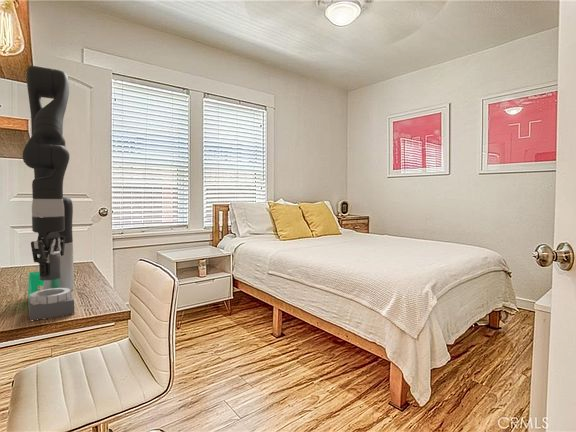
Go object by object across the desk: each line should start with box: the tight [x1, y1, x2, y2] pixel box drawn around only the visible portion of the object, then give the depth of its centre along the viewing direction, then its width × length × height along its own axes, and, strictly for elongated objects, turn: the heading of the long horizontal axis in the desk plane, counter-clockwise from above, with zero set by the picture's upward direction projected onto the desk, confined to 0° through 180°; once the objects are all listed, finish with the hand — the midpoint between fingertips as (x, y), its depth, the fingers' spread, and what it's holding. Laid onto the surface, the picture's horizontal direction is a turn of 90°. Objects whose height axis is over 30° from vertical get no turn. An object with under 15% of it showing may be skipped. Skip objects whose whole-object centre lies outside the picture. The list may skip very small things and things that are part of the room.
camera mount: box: [27, 271, 44, 299], centre depth 105 cm, size 12×8×10 cm, turn 43°
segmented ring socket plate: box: [27, 288, 75, 322], centre depth 96 cm, size 10×10×6 cm
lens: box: [38, 251, 61, 280], centre depth 95 cm, size 5×5×8 cm
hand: (50, 273), depth 95 cm, fingers closed on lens, 5 cm apart
